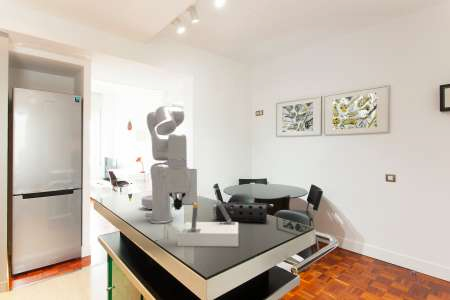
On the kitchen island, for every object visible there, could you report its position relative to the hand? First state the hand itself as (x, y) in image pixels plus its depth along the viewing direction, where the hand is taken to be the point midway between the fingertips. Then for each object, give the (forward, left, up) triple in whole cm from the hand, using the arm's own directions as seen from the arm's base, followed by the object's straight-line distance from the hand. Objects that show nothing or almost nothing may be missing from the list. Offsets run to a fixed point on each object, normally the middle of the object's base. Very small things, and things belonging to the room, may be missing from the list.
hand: (178, 209), depth 99 cm
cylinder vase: (-13, +81, -14) cm, 83 cm away
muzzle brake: (+25, +33, -14) cm, 44 cm away
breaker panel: (+12, +5, -14) cm, 19 cm away
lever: (+20, +11, -8) cm, 24 cm away
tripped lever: (+6, 0, -8) cm, 10 cm away
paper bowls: (-33, +63, -14) cm, 73 cm away
